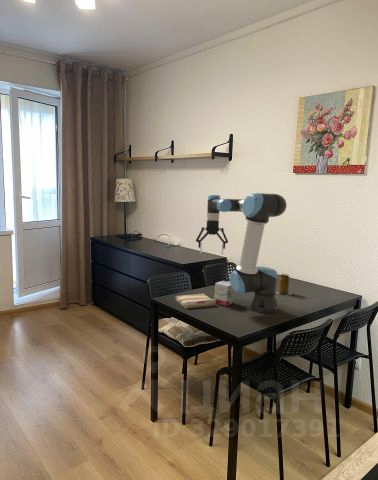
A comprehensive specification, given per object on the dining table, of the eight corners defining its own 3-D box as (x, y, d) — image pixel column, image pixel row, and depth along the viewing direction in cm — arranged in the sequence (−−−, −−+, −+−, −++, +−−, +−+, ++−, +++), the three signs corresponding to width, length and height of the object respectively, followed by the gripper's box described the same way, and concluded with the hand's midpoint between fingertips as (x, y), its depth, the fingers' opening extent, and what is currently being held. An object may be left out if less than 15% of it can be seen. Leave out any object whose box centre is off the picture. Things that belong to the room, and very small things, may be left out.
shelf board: (215, 305, 208) (215, 299, 207) (186, 308, 201) (186, 302, 200) (203, 296, 223) (203, 291, 222) (175, 299, 216) (175, 293, 215)
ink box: (226, 306, 208) (227, 285, 206) (213, 302, 213) (214, 282, 211) (234, 302, 214) (235, 282, 213) (221, 299, 219) (222, 280, 218)
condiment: (282, 291, 243) (283, 273, 241) (293, 294, 236) (294, 276, 235) (275, 292, 238) (276, 274, 236) (286, 296, 232) (287, 277, 230)
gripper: (232, 220, 234) (230, 253, 237) (193, 218, 234) (191, 251, 237) (233, 221, 226) (231, 255, 229) (192, 219, 227) (191, 253, 230)
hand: (211, 253), depth 233 cm, fingers open, 13 cm apart
